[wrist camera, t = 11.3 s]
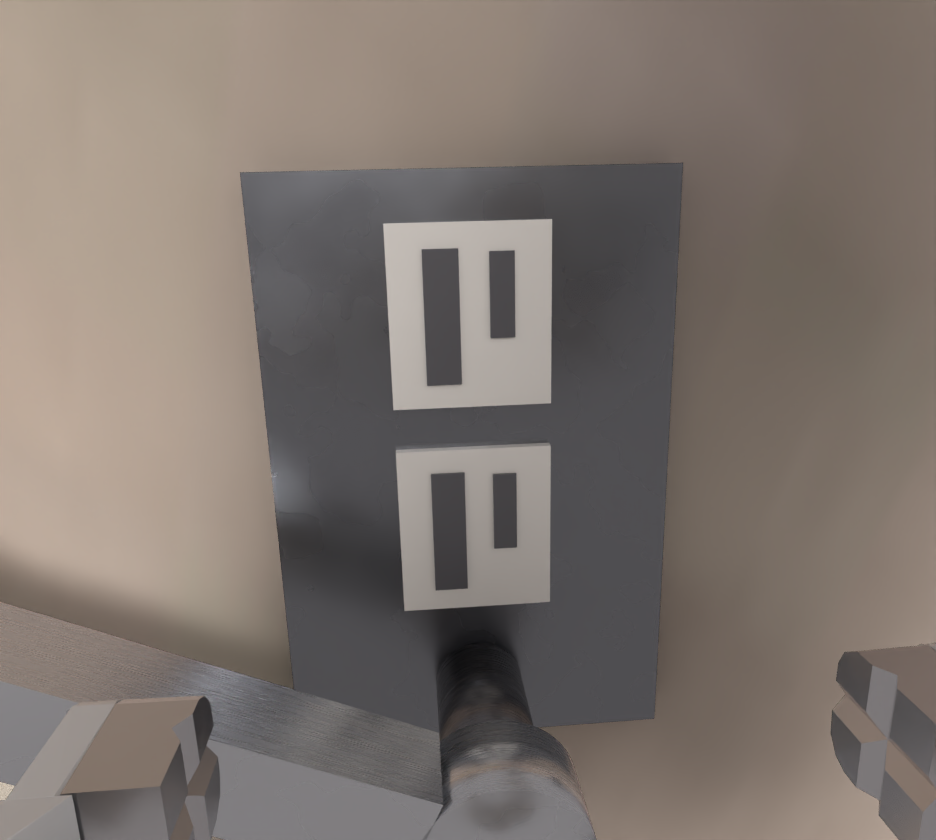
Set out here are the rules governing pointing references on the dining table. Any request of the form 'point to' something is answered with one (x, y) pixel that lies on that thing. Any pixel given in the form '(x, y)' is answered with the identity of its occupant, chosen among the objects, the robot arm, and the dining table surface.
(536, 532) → the plate
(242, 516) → the dining table surface
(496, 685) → the dark grey cylinder
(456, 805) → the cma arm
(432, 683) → the chassis plate
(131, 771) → the robot arm
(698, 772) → the dining table surface
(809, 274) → the dining table surface
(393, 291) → the label plate
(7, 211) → the dining table surface
